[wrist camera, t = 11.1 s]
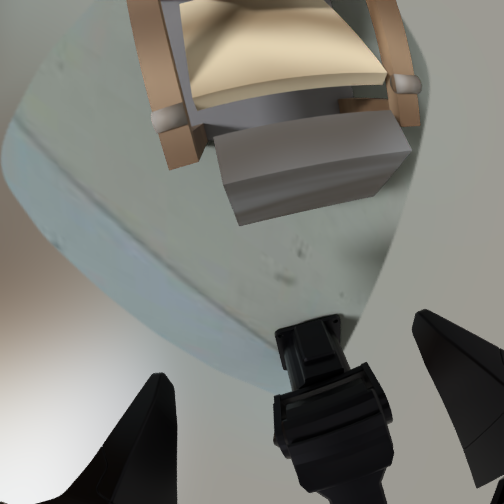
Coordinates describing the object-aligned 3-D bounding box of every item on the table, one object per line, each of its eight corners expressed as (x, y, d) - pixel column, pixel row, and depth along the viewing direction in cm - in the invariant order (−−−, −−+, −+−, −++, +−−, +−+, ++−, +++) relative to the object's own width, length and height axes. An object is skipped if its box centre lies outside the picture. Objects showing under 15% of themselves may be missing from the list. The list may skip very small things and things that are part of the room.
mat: (352, 114, 16) (356, 114, 16) (190, 145, 17) (189, 146, 16) (315, -32, 10) (318, -35, 10) (152, -8, 11) (150, -11, 10)
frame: (352, 114, 16) (426, 127, 9) (190, 145, 17) (167, 173, 10) (315, -32, 10) (363, -83, 3) (152, -8, 11) (114, -62, 4)
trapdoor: (380, 194, 13) (428, 139, 8) (231, 228, 14) (206, 177, 8) (303, 45, 16) (308, -14, 10) (197, 63, 16) (179, 4, 11)
